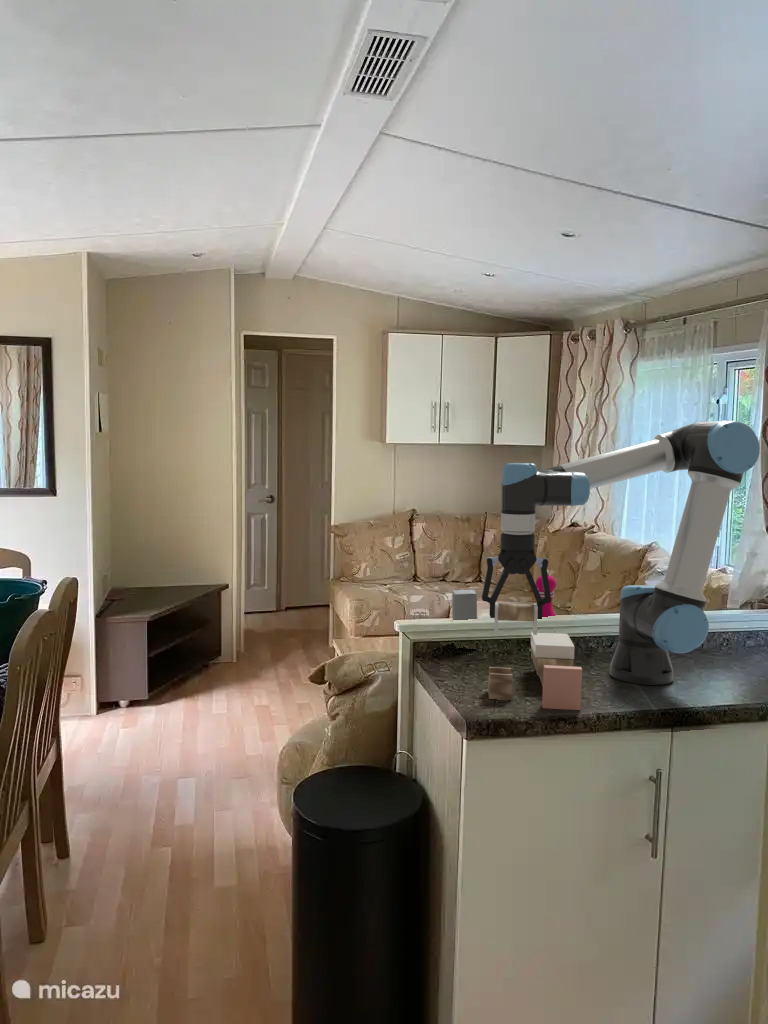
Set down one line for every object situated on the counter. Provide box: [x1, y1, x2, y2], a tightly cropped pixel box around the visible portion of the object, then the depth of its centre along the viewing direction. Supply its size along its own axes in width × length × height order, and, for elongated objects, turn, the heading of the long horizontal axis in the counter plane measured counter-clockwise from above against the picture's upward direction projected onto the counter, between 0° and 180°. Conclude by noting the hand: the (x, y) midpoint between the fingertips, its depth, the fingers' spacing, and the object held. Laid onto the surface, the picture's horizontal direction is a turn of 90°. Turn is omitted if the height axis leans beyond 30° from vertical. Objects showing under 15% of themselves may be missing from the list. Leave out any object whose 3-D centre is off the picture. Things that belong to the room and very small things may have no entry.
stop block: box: [541, 665, 583, 711], centre depth 176 cm, size 8×2×9 cm, turn 85°
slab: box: [530, 631, 576, 660], centre depth 197 cm, size 9×13×3 cm
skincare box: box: [451, 589, 478, 621], centre depth 228 cm, size 8×7×16 cm
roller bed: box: [530, 645, 574, 687], centre depth 192 cm, size 8×30×7 cm, turn 175°
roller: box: [497, 602, 535, 622], centre depth 182 cm, size 8×4×4 cm, turn 84°
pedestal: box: [487, 666, 514, 701], centre depth 184 cm, size 5×6×6 cm
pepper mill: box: [535, 569, 557, 617], centre depth 243 cm, size 7×7×20 cm
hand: (515, 632), depth 183 cm, fingers closed on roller, 8 cm apart
